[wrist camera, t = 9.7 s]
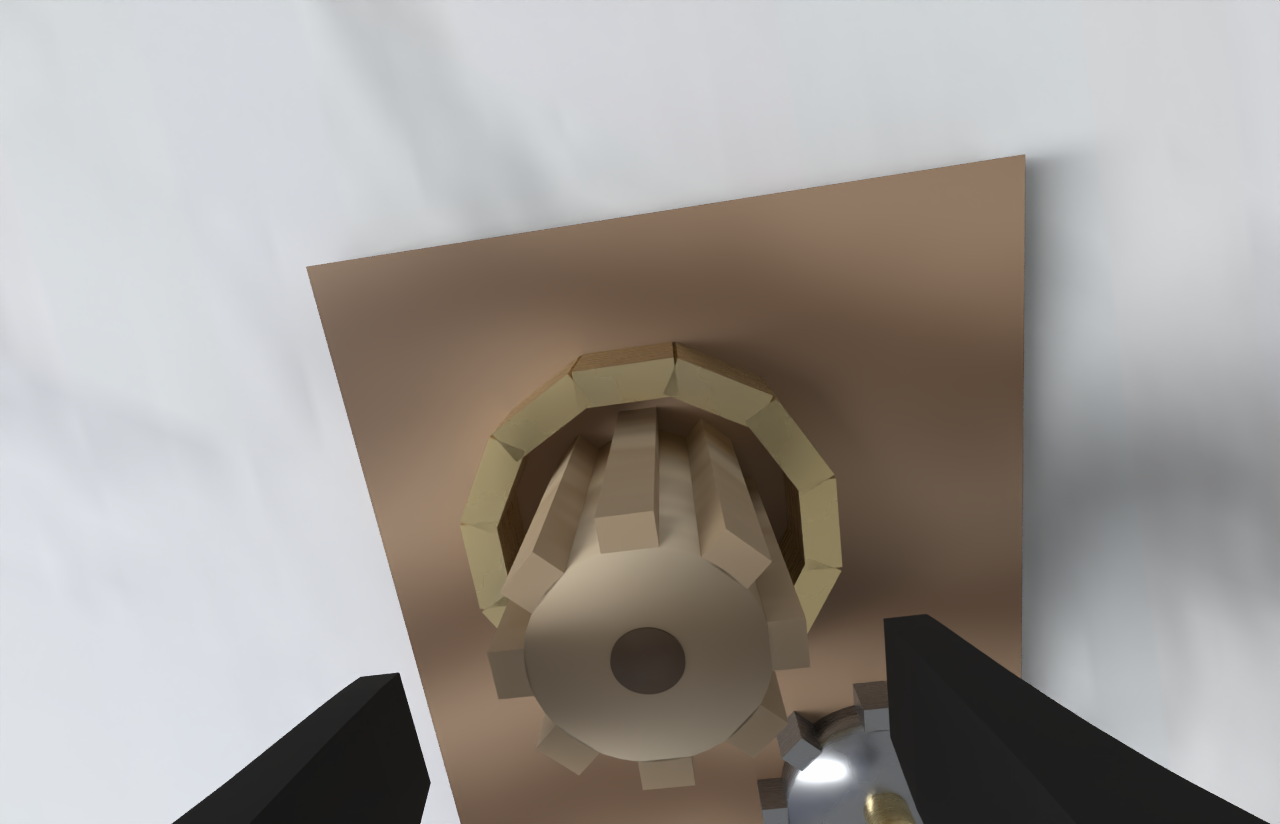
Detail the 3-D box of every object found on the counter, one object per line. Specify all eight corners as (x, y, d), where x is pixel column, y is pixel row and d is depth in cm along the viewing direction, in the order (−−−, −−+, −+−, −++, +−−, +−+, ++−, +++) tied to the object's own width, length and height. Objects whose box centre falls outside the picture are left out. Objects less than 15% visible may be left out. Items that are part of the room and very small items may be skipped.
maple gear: (764, 585, 17) (820, 777, 11) (569, 607, 17) (521, 804, 11) (743, 395, 15) (795, 495, 9) (532, 423, 16) (457, 536, 10)
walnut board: (994, 831, 20) (1019, 877, 19) (499, 874, 21) (488, 921, 20) (990, 162, 15) (1025, 154, 14) (337, 263, 16) (306, 266, 15)
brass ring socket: (829, 632, 17) (851, 684, 15) (523, 666, 18) (506, 720, 16) (803, 322, 15) (825, 336, 13) (456, 372, 15) (427, 392, 13)
